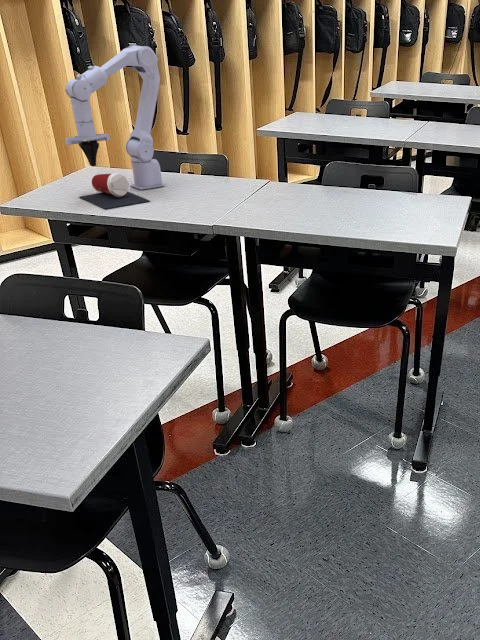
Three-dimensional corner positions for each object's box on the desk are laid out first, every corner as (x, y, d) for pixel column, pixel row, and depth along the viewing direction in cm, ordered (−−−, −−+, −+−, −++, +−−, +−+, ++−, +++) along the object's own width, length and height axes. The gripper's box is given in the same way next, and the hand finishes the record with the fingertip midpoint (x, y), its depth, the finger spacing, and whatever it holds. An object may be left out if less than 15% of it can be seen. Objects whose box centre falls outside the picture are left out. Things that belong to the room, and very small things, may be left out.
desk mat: (122, 190, 234) (122, 189, 234) (149, 201, 222) (149, 200, 222) (79, 197, 226) (79, 196, 225) (105, 209, 214) (105, 208, 213)
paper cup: (92, 196, 230) (112, 199, 221) (85, 173, 226) (106, 174, 217) (112, 192, 235) (132, 194, 226) (106, 169, 231) (127, 170, 222)
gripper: (99, 117, 222) (107, 160, 230) (57, 121, 214) (67, 166, 222) (109, 120, 218) (116, 164, 226) (66, 124, 210) (76, 170, 218)
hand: (93, 165), depth 224 cm, fingers closed
